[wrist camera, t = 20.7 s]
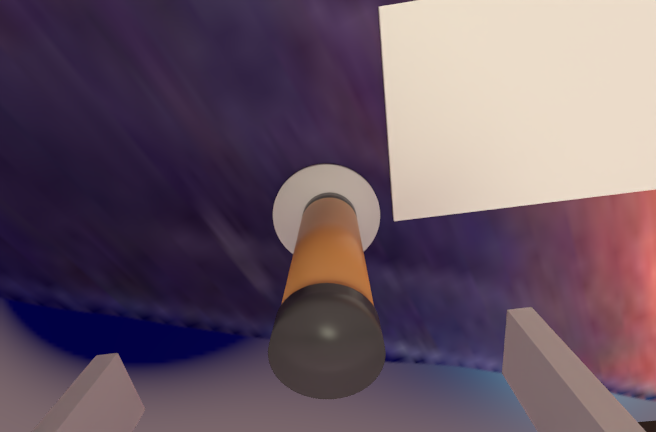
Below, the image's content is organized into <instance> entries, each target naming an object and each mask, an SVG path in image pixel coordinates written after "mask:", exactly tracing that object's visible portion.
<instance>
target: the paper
mask: <svg viewBox="0 0 656 432" xmlns="http://www.w3.org/2000/svg"><path fill="white" fill-rule="evenodd" d="M378 13H379V27H380V41H381V55H382V69H383V83H384V98H385V112H386V126H387V140H388V154H389V168H390V182H391V197H392V211H393V220H394V221H400V220H408V219H417V218H425V217H433V216H441V215H449V214H458V213H466V212H474V211H482V210H490V209H499V208H507V207H515V206H523V205H531V204H540V203H548V202H556V201H564V200H572V199H580V198H589V197H597V196H605V195H613V194H621V193H630V192H638V191H646V190H654V189H656V0H417V1H411V2H405V3H399V4H393V5H386V6H380V7H379V8H378Z"/></svg>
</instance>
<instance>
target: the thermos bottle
mask: <svg viewBox="0 0 656 432" xmlns="http://www.w3.org/2000/svg"><path fill="white" fill-rule="evenodd" d="M268 358H269V363H270V366H271V368H272V370H273V372H274V374H275V375H276V376H277V378H278V379H279V380H280V381H281V382H282V383H283V384H284V385H286V386H287V387H289V388H290V389H291V390H293V391H295V392H297V393H299V394H302V395H304V396H308V397H313V398H318V399H337V398H343V397H347V396H350V395H353V394H355V393H357V392H360V391H362V390H363V389H365V388H366V387H368V386H369V385H370V384H371V383H372V382H373V381H374V380H375V379H376V378H377V377H378V375H379V374H380V372H381V370H382V368H383V365H384V362H385V346H384V341H383V336H382V331H381V326H380V321H379V317H378V314H377V311H376V309H375V307H374V304H373V299H372V294H371V288H370V283H369V278H368V273H367V268H366V262H365V257H364V252H363V247H362V242H361V237H360V231H359V226H358V221H357V216H356V211H355V208H354V206H353V205H352V203H351V202H350V201H349V200H348V199H347V198H346V197H344V196H342V195H340V194H337V193H331V192H328V193H322V194H319V195H317V196H315V197H313V198H312V199H311V200H310V201H309V202H308V203H307V205H306V206H305V208H304V211H303V215H302V220H301V224H300V228H299V232H298V237H297V241H296V245H295V249H294V253H293V258H292V262H291V266H290V270H289V275H288V279H287V283H286V287H285V291H284V296H283V300H282V304H281V306H280V308H279V310H278V312H277V315H276V318H275V322H274V326H273V330H272V334H271V338H270V342H269V348H268Z"/></svg>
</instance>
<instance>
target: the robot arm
mask: <svg viewBox="0 0 656 432" xmlns="http://www.w3.org/2000/svg"><path fill="white" fill-rule="evenodd" d="M502 374H503V375H504V377H505V379H506V380H507V382H508V384H509V385H510V387H511V389H512V390H513V392H514V394H515V395H516V397H517V398H518V400H519V402H520V403H521V405H522V407H523V408H524V410H525V412H526V413H527V415H528V417H529V418H530V420H531V422H532V423H533V425H534V426H535V428H536V430H537V431H538V432H656V421H646V422H637V421H636V420H635V419H633V417H632V416H631V415H630V414H629V413H628V411H626V409H625V408H624V407H623V406H622V405H621V404H620V403H619V402H618V401H617V400H616V398H615V397H614V396H613V395H612V394H611V393H610V392H609V391H608V390H607V389H606V388H605V386H604V385H603V384H602V383H601V382H600V381H599V380H598V379H597V378H596V377H595V376H594V375H593V373H592V372H591V371H590V370H589V369H588V368H587V367H586V366H585V365H584V364H583V363H582V361H581V360H580V359H579V358H578V357H577V356H576V355H575V354H574V353H573V352H572V351H571V350H570V348H569V347H568V346H567V345H566V344H565V343H564V342H563V341H562V340H561V339H560V338H559V336H558V335H557V334H556V333H555V332H554V331H553V330H552V329H551V328H550V327H549V326H548V325H547V323H546V322H545V321H544V320H543V319H542V318H541V317H540V316H539V315H538V314H537V313H536V311H535V310H534V309H533V308H532V307H529V308H520V309H511V310H507V320H506V332H505V345H504V357H503V369H502ZM144 411H145V408H144V406H143V404H142V402H141V399H140V398H139V396H138V393H137V391H136V390H135V387H134V385H133V383H132V381H131V379H130V377H129V375H128V373H127V371H126V369H125V367H124V365H123V363H122V361H121V359H120V357H119V355H118V353H114V354H105V355H97V356H96V357H95V358H94V359H93V360H92V361H91V362H90V364H89V365H88V366H87V367H86V368H85V369H84V371H83V372H82V373H81V374H80V375H79V376H78V378H77V379H76V380H75V381H74V382H73V384H72V385H71V386H70V387H69V388H68V389H67V390H66V392H65V393H64V394H63V395H62V396H61V397H60V399H59V400H58V401H57V402H56V403H55V404H54V406H53V407H52V408H51V409H50V410H49V411H48V413H47V414H46V415H45V416H44V417H43V418H42V420H41V421H40V422H39V423H38V424H37V426H36V427H35V428H34V429H33V430H32V431H31V432H133V430H134V429H135V427H136V425H137V423H138V421H139V420H140V418H141V416H142V414H143V412H144Z"/></svg>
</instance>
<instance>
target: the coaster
mask: <svg viewBox="0 0 656 432" xmlns="http://www.w3.org/2000/svg"><path fill="white" fill-rule="evenodd" d="M328 192H331V193H337V194H340V195H342V196H344V197H346V198H347V199H348V200H349V201H350V202H351V203H352V205H353V206H354V208H355V211H356V216H357V221H358V226H359V231H360V237H361V242H362V247H363V252H364V251H365V250H366V249H367V248H368V247H369V245H370V244H371V243H372V241H373V240H374V238H375V236H376V234H377V231H378V228H379V223H380V208H379V203H378V200H377V197H376V195H375V193H374V191H373V189H372V187H371V186H370V184H369V183H368V182H367V181H366V180H365V179H364V178H363V177H362V176H361V175H360V174H358V173H357V172H355V171H354V170H352V169H350V168H348V167H345V166H342V165H337V164H330V163H323V164H315V165H311V166H308V167H305V168H303V169H301V170H299V171H297V172H296V173H294V174H293V175H292V176H291V177H290V178H288V179H287V181H286V182H285V183H284V184H283V186H282V187H281V189H280V190H279V192H278V194H277V197H276V199H275V202H274V207H273V223H274V227H275V231H276V233H277V235H278V237H279V239H280V241H281V242H282V244H283V245H284V246H285V247H286V248H287V249H288V250H289V251H290V252H291V253H292V254H293V253H294V249H295V245H296V241H297V237H298V232H299V228H300V224H301V220H302V215H303V211H304V208H305V206H306V205H307V203H308V202H309V201H310V200H311V199H312V198H313V197H315V196H317V195H319V194H322V193H328Z"/></svg>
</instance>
